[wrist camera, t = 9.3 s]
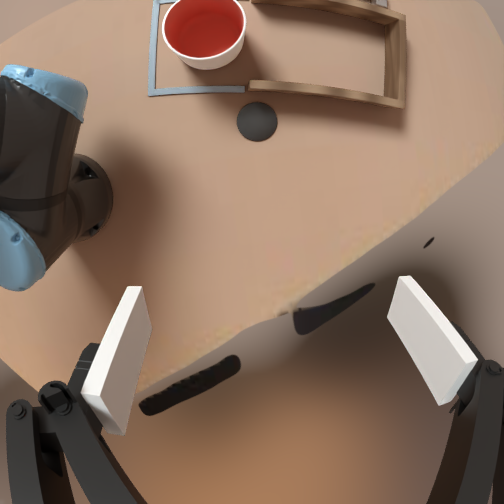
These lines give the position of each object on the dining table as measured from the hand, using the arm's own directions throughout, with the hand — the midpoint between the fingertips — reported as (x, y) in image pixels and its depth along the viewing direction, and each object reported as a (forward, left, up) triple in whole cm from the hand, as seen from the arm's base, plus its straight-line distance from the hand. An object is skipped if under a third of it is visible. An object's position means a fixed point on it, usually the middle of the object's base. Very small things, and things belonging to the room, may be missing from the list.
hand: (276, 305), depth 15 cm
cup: (-6, +20, -35) cm, 41 cm away
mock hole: (+1, +7, -34) cm, 35 cm away
